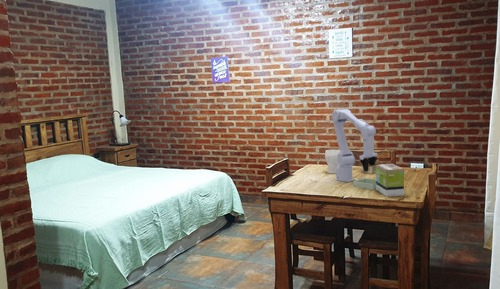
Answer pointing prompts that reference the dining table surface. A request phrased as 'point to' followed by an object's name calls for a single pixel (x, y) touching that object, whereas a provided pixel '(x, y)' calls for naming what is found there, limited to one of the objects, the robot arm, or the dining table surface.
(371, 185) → the tray
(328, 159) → the beige flared cylinder
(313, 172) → the dining table surface
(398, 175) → the tea box
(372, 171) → the pine crate
